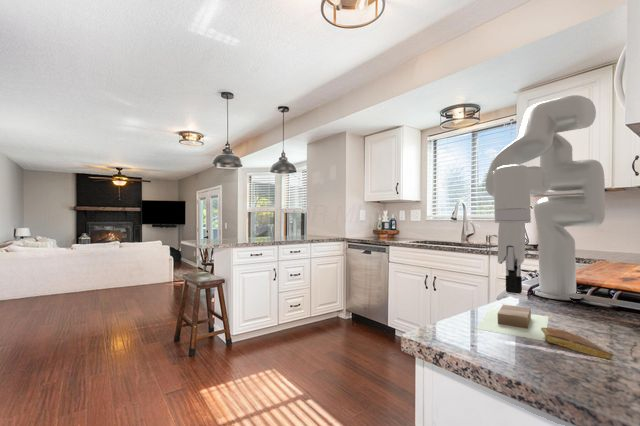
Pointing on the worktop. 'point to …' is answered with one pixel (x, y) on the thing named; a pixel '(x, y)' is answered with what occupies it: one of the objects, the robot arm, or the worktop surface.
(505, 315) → the walnut slab
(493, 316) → the sage mat
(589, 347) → the shard
